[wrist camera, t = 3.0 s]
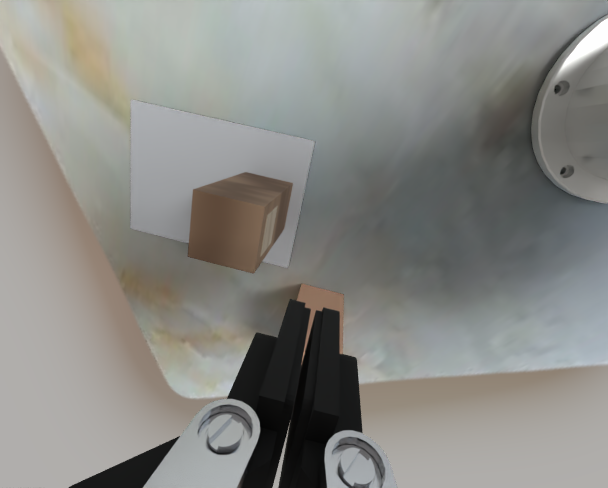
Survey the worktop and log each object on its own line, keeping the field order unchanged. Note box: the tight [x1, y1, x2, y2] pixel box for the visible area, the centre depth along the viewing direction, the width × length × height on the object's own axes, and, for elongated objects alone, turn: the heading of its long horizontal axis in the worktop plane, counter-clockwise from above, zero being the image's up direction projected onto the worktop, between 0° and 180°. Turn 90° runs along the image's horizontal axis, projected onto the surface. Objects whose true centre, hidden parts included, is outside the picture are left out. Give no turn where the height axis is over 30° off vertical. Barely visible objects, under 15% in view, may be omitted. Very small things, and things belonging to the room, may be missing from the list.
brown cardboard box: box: [188, 172, 293, 273], centre depth 21 cm, size 4×4×9 cm
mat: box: [130, 100, 315, 268], centre depth 26 cm, size 15×11×1 cm
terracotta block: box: [297, 284, 344, 365], centre depth 24 cm, size 4×4×9 cm
